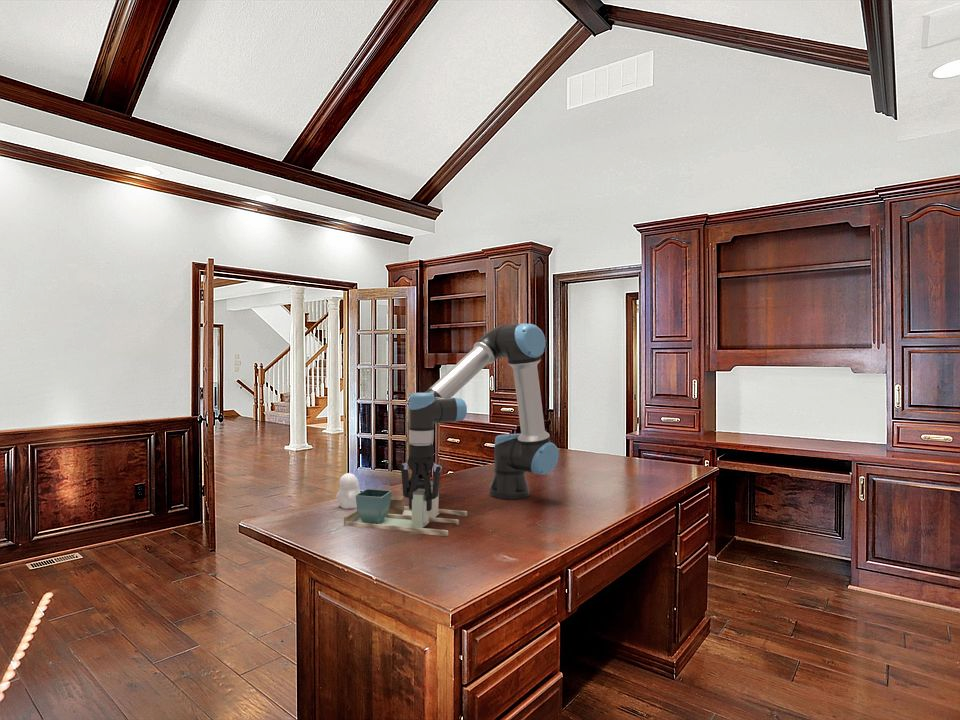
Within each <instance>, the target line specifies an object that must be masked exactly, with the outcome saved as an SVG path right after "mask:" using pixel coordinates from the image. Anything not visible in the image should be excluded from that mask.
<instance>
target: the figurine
mask: <svg viewBox="0 0 960 720" xmlns="http://www.w3.org/2000/svg"><path fill="white" fill-rule="evenodd" d="M338 484H339V490H338V491H337V493H336V500H337V502H338V504H339V505H340V507H341V508H342V509H346V510H350V509H352V510H353V509H357V504H356V495H357V494H359V493H360V492H361V489H360V484H359V480H358V478H357V476H356V475H354V474H353V473H351V472H346V473H344V474H343V475H341V476H340V477H339V483H338Z"/></svg>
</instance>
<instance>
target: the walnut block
mask: <svg viewBox="0 0 960 720" xmlns="http://www.w3.org/2000/svg"><path fill="white" fill-rule="evenodd" d="M404 506H405V497H404V496H403V495H391V502H390V507H389V510H388V513H387V514H399V515H402V514H403V512H404Z"/></svg>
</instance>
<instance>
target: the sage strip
mask: <svg viewBox="0 0 960 720" xmlns="http://www.w3.org/2000/svg"><path fill="white" fill-rule="evenodd" d="M425 499H426V494H425V489H417V490H416V491H414V492H413V521H412V520H410V519H398V518H387V517H385V518H384V520H382V521H381V522H380V523H378V524H382V525H394V526H405V527H416V528H425V527H426V526H427V525H428V524H429V523H430V521H427V522H426V523H425V522H423V516H424V500H425ZM355 522H360V523H364V522H363V521H362V520H361V518H358V519H357V520H355ZM371 524H375V523H371Z"/></svg>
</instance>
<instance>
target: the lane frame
mask: <svg viewBox="0 0 960 720" xmlns="http://www.w3.org/2000/svg"><path fill="white" fill-rule="evenodd" d="M404 510H407V511H412V510H410V509H409V506H405V505H404ZM438 513H440V514H448V515H449V514H450V515H455V516H457V517H468V511H467V510H455V509H445V508H443V509H442V508H438ZM385 518H394V519H406V520H412V516H411V515H399V514H387V515H386V517H385ZM359 519H361V518H360V517H359V514H358V511H357V509H355V510H353V511H352V512H350V513H348V514H347V515H345V516H343V526H347V527H348V526H349V527H359V528H368V529H369V528H370V529H381V530H393V531H401V532H404V533H407V534H409V533H410V534H417V535H430V536H438V537H440V536H441V537H448V536H449V530H446V529H437V528H428V527H427V528H425V527H423V528H416V527H405V526H394V525H382V524H371V523H360V522H356V521H357V520H359ZM428 521H429V522H433V523H434V522H435V523H446V524H447V523H448V524H455V525H456V526H458V525H459V524H460V519H457V518H446V517H445V518H444V517H435V518H434V517H429V520H428Z"/></svg>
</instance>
